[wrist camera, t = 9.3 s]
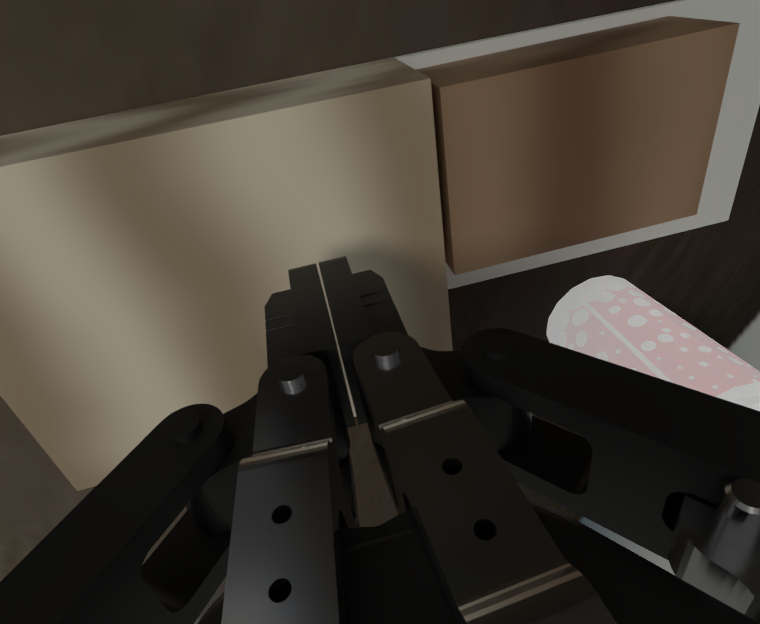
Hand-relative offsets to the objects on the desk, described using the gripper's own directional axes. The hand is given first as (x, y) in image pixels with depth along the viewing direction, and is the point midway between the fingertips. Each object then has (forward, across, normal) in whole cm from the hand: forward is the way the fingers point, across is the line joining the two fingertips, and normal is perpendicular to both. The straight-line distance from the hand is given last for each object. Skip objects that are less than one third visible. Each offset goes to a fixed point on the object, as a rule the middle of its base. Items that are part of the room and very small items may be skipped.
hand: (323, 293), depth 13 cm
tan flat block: (+6, +3, +1) cm, 7 cm away
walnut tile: (+6, -9, -1) cm, 11 cm away
